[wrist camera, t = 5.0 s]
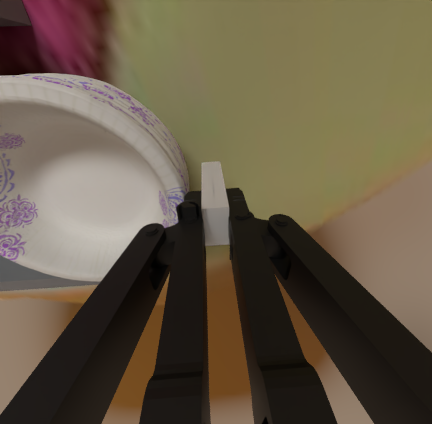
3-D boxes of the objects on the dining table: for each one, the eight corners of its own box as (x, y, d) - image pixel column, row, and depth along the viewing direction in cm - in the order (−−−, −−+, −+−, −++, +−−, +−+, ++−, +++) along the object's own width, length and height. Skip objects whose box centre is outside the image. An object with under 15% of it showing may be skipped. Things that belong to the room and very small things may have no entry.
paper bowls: (195, 226, 24) (193, 282, 18) (65, 229, 23) (13, 290, 17) (186, 74, 16) (176, 76, 9) (-22, 70, 15) (-198, 70, 8)
